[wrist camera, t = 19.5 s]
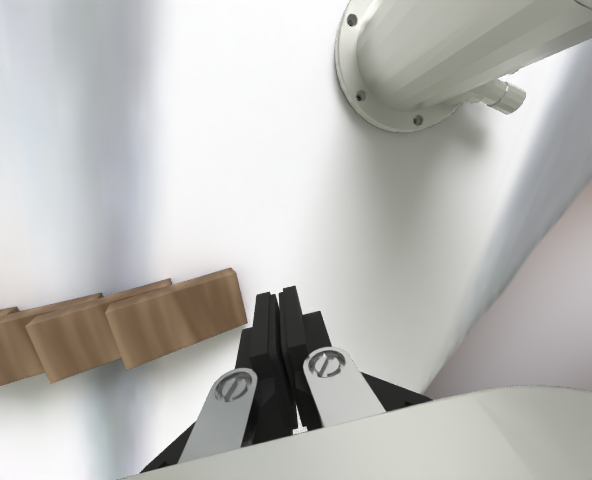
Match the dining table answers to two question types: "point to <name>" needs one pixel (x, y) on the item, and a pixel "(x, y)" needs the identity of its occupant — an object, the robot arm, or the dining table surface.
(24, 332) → the walnut domino
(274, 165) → the dining table surface
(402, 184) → the dining table surface
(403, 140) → the dining table surface
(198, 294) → the walnut domino
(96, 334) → the walnut domino
